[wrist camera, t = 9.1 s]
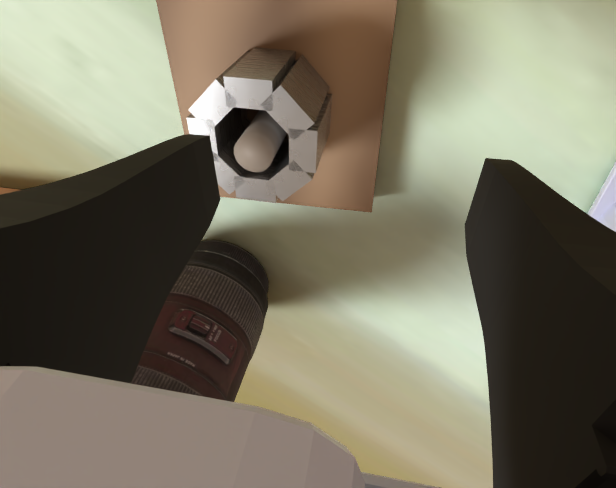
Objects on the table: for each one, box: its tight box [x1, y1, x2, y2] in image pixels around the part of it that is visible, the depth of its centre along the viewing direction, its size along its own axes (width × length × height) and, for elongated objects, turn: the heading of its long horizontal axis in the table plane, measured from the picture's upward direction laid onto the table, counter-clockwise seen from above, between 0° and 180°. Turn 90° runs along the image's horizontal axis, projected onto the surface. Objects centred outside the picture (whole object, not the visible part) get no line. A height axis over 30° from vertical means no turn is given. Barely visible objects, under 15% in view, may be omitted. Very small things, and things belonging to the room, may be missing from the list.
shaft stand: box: [156, 0, 397, 212], centre depth 18 cm, size 10×10×6 cm
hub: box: [187, 47, 332, 203], centre depth 17 cm, size 5×5×4 cm
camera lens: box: [131, 240, 268, 402], centre depth 24 cm, size 8×8×15 cm
